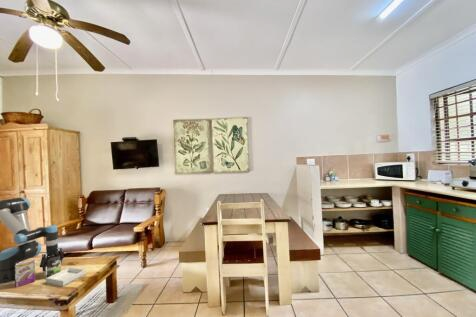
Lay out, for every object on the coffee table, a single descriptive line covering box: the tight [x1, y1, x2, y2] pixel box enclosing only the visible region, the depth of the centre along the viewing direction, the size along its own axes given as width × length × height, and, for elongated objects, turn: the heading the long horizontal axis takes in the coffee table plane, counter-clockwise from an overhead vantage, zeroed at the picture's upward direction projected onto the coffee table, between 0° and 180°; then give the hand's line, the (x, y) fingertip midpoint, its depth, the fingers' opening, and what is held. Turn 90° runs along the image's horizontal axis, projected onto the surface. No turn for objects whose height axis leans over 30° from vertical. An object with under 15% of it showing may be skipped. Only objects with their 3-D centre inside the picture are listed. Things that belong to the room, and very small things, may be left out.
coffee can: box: [44, 254, 61, 279], centre depth 187 cm, size 10×10×14 cm
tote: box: [45, 266, 87, 287], centre depth 180 cm, size 18×18×4 cm
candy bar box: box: [14, 259, 36, 288], centre depth 174 cm, size 11×5×16 cm, turn 131°
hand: (52, 271), depth 187 cm, fingers closed on coffee can, 10 cm apart
